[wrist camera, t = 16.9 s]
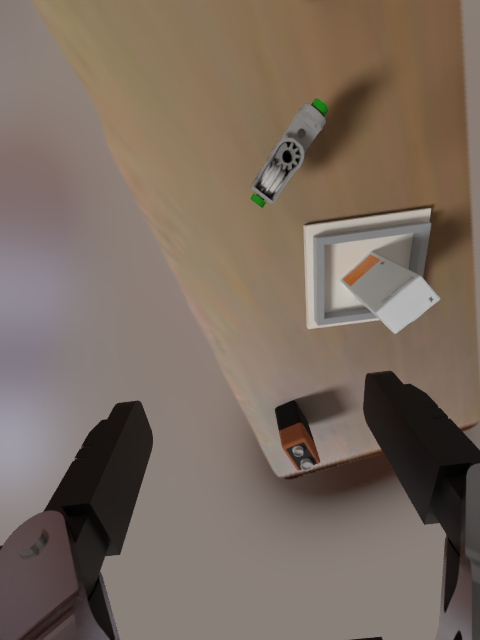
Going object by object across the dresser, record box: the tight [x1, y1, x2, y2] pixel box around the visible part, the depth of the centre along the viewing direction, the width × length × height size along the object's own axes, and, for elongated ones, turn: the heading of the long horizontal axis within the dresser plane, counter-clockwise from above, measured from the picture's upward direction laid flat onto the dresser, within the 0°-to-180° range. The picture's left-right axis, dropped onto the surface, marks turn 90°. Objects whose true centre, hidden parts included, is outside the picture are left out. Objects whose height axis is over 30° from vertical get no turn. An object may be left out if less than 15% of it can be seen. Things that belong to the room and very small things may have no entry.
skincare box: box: [340, 252, 441, 334], centre depth 36 cm, size 6×4×12 cm
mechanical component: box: [250, 99, 328, 208], centre depth 31 cm, size 3×10×10 cm, turn 146°
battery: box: [275, 401, 320, 471], centre depth 50 cm, size 4×7×10 cm, turn 28°
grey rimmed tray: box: [304, 208, 431, 329], centre depth 41 cm, size 16×17×3 cm
